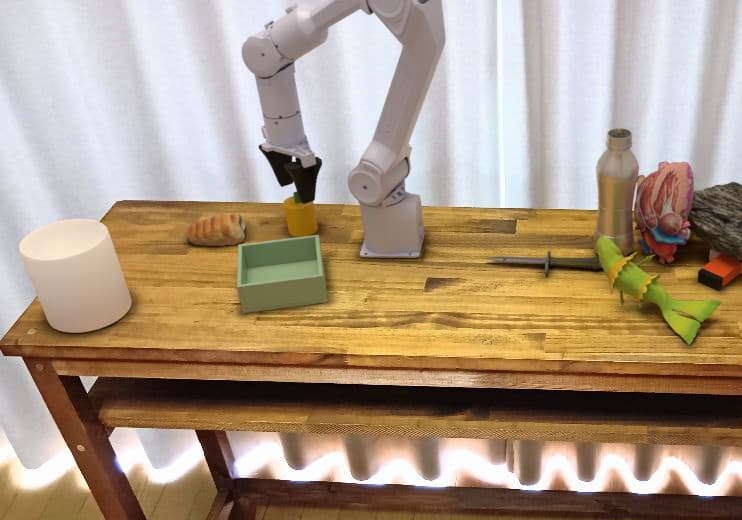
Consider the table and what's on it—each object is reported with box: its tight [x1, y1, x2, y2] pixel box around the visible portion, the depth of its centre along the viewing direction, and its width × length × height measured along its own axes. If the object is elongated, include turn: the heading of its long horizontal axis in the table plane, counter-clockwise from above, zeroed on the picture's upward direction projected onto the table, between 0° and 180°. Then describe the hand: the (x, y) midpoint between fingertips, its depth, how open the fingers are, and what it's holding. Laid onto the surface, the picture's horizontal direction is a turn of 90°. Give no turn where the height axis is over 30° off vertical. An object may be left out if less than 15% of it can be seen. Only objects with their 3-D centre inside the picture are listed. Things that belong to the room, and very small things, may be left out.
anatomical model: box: [633, 160, 695, 265], centre depth 137 cm, size 11×6×15 cm
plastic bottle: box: [592, 127, 640, 258], centre depth 136 cm, size 6×7×20 cm
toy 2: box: [697, 247, 742, 291], centre depth 137 cm, size 8×4×15 cm
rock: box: [687, 181, 742, 260], centre depth 136 cm, size 12×16×6 cm
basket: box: [236, 234, 329, 314], centre depth 136 cm, size 12×12×5 cm
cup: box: [18, 218, 133, 334], centre depth 129 cm, size 12×12×12 cm
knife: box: [483, 251, 603, 275], centre depth 139 cm, size 19×2×5 cm
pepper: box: [282, 191, 319, 238], centre depth 148 cm, size 5×5×7 cm
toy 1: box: [597, 236, 723, 346], centre depth 128 cm, size 8×20×8 cm, turn 49°
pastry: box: [184, 211, 246, 247], centre depth 147 cm, size 9×7×4 cm
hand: (297, 192), depth 146 cm, fingers open, 7 cm apart
